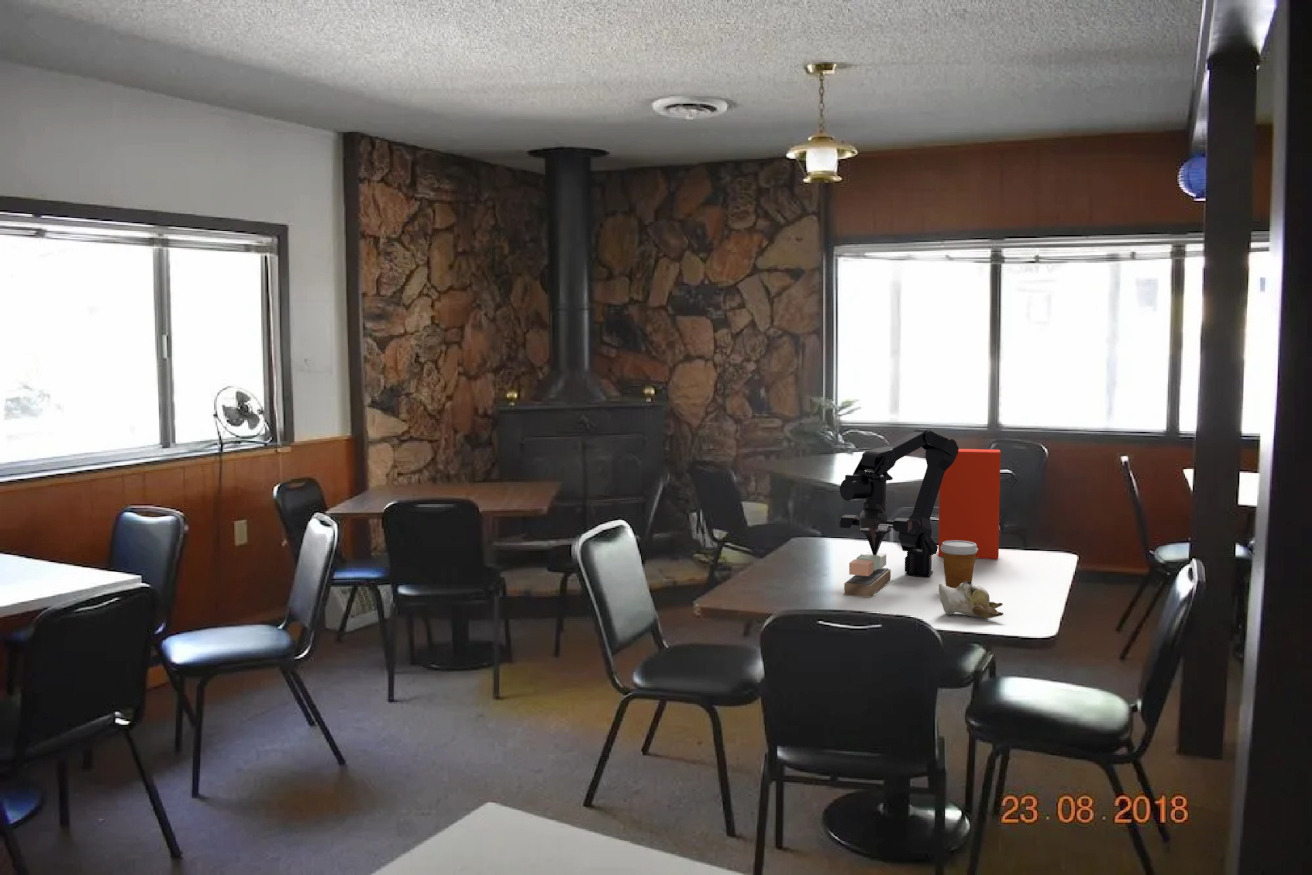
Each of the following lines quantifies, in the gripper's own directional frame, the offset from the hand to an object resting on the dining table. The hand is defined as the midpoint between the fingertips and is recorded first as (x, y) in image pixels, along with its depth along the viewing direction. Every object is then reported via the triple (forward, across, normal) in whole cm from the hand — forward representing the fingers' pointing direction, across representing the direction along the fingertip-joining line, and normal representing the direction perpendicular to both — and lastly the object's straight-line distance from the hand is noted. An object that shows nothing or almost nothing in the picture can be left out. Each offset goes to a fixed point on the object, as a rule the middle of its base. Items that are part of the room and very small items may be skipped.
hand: (874, 554), depth 291 cm
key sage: (+2, 0, -7) cm, 7 cm away
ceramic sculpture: (+8, +30, -26) cm, 40 cm away
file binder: (+8, +17, +46) cm, 50 cm away
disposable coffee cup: (+8, +22, +1) cm, 23 cm away
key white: (+3, 0, 0) cm, 3 cm away
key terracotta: (+2, 0, -14) cm, 14 cm away
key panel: (+7, 0, -7) cm, 10 cm away
